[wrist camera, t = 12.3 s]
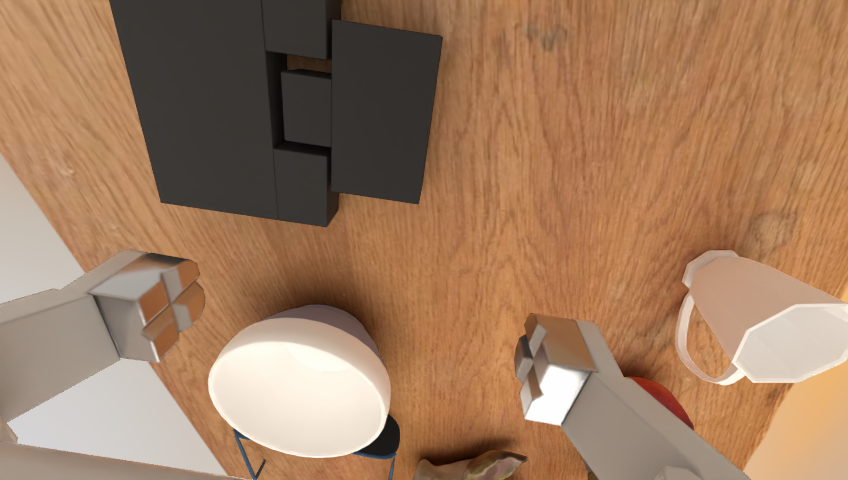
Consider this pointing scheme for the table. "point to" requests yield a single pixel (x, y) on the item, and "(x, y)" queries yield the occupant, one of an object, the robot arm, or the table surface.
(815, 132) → the table surface
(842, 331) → the cup
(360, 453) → the sunglasses
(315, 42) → the base pad
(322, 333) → the bowl
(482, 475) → the ceramic sculpture
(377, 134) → the black stepped block
